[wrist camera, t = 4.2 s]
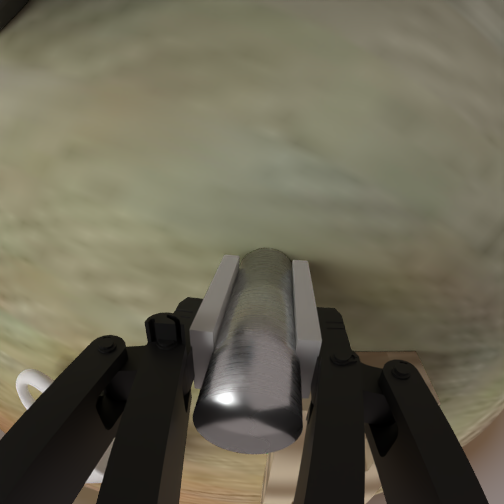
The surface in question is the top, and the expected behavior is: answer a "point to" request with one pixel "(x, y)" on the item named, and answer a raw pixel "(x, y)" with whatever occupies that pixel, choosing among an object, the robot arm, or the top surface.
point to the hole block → (289, 459)
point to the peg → (254, 363)
